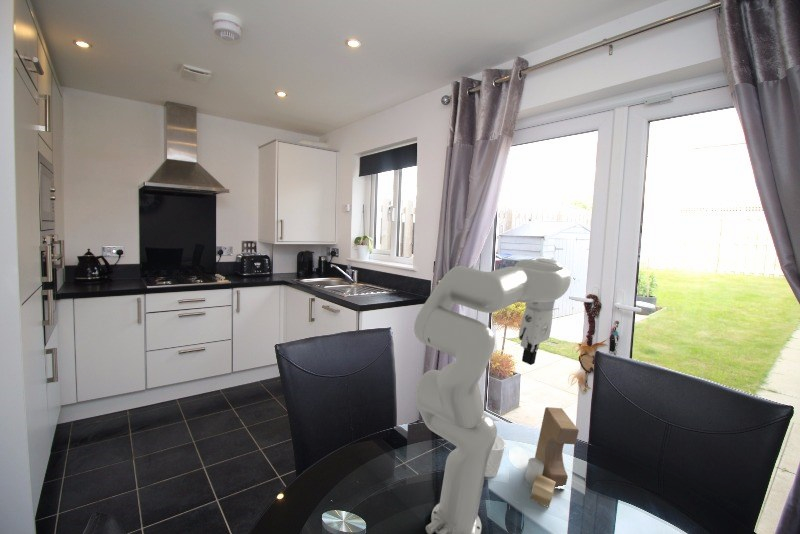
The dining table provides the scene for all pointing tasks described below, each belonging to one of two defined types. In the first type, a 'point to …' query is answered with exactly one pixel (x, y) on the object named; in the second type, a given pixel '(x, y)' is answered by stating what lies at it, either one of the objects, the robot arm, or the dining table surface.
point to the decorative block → (555, 443)
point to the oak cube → (543, 490)
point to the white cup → (495, 457)
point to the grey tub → (533, 470)
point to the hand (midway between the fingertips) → (528, 362)
